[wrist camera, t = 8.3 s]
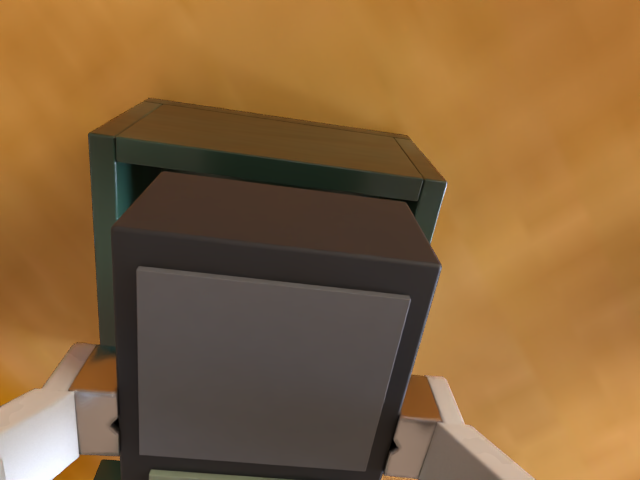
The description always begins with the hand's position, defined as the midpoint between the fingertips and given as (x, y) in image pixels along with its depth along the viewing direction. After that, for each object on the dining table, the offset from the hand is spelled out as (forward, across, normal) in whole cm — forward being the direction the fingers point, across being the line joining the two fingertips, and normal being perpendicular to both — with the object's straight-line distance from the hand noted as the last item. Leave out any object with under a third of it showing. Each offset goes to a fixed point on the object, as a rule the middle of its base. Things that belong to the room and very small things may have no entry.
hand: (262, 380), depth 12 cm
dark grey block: (+2, 0, 0) cm, 2 cm away
